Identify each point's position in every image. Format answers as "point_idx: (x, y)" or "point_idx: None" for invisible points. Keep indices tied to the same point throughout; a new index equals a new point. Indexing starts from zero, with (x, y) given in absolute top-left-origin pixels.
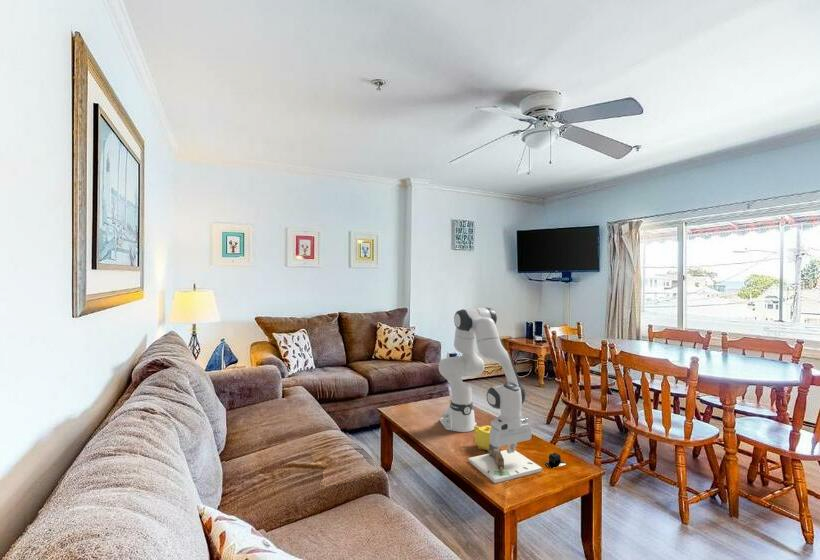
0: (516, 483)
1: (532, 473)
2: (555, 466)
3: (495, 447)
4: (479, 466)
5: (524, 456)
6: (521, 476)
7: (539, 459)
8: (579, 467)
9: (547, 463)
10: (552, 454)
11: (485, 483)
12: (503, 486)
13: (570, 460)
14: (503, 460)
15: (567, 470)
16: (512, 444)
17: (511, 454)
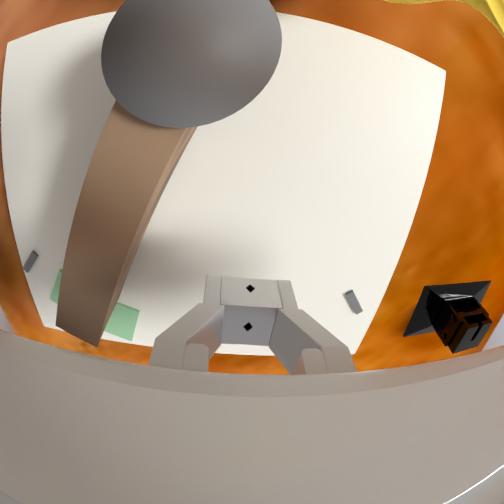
0: (144, 357)
1: None
2: (428, 329)
3: (136, 114)
4: (6, 180)
5: (413, 216)
6: None
7: (454, 249)
8: (461, 351)
9: (434, 302)
10: (471, 334)
11: (17, 293)
12: (78, 344)
13: (494, 309)
14: (95, 341)
15: (423, 358)
16: (304, 342)
17: (367, 130)
